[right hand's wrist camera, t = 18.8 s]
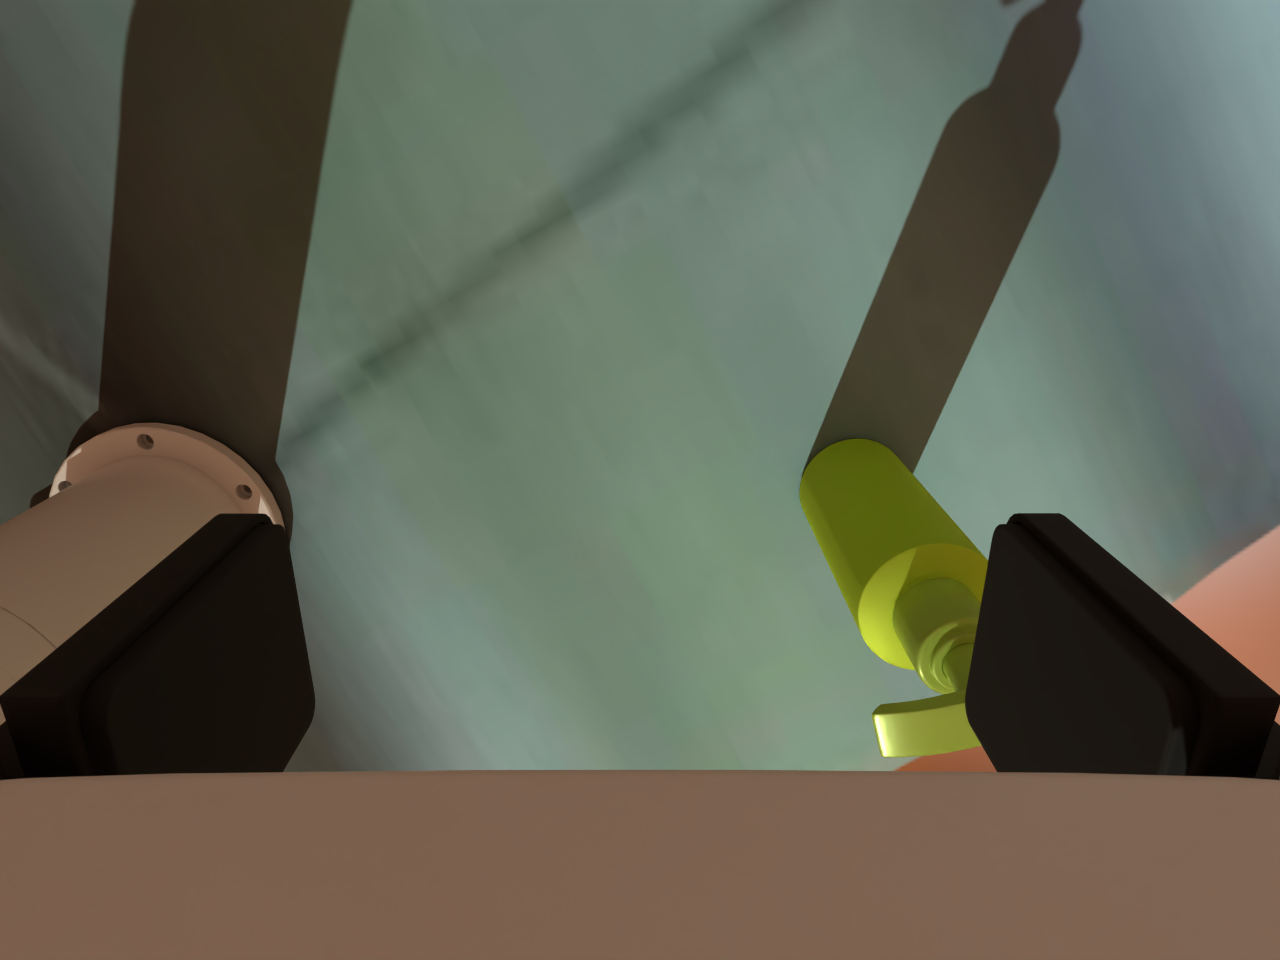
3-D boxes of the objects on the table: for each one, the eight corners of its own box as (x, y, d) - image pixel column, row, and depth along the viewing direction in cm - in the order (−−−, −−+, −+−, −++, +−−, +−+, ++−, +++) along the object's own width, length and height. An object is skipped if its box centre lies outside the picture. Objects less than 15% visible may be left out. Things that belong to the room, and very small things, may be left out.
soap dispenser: (770, 459, 45) (863, 673, 26) (895, 425, 44) (1084, 620, 25) (793, 552, 47) (895, 813, 28) (914, 521, 46) (1101, 767, 27)
